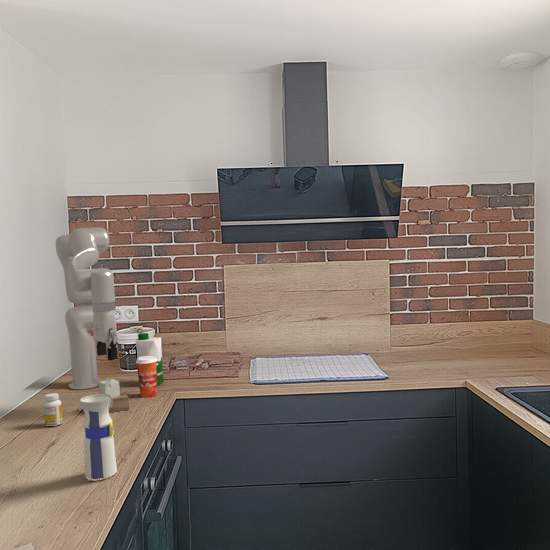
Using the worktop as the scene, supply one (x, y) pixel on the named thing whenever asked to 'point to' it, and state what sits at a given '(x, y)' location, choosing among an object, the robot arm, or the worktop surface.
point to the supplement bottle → (53, 409)
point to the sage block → (112, 391)
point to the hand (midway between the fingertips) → (107, 357)
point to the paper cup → (147, 375)
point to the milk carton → (151, 352)
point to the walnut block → (120, 403)
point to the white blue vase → (98, 435)
